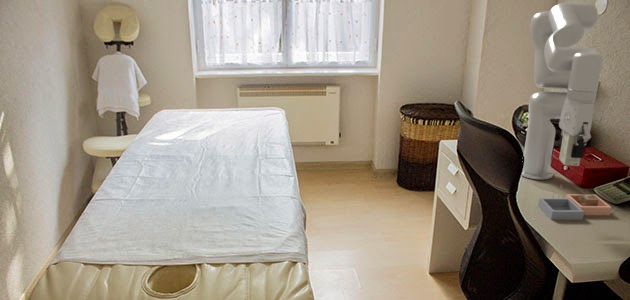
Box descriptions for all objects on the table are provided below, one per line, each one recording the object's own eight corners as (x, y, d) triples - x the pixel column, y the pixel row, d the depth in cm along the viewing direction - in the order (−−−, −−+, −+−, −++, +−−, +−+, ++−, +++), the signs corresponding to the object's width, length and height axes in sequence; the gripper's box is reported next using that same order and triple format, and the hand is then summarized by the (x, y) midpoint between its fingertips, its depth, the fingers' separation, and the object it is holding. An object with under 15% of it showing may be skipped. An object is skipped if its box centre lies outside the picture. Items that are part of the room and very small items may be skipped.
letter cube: (577, 205, 161) (579, 193, 160) (589, 205, 161) (592, 194, 160) (583, 211, 158) (585, 199, 156) (596, 211, 158) (598, 199, 156)
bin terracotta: (564, 203, 164) (566, 194, 163) (593, 204, 164) (595, 194, 163) (578, 217, 155) (580, 207, 154) (609, 217, 155) (611, 207, 154)
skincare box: (579, 166, 148) (587, 127, 144) (563, 165, 149) (571, 126, 145) (573, 159, 154) (580, 121, 150) (558, 158, 155) (565, 120, 150)
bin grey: (537, 207, 162) (539, 198, 160) (567, 207, 162) (569, 198, 160) (550, 221, 153) (552, 211, 151) (582, 221, 153) (584, 211, 151)
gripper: (554, 88, 152) (545, 143, 158) (583, 102, 136) (571, 163, 142) (579, 88, 152) (569, 143, 158) (610, 102, 136) (598, 163, 142)
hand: (570, 152), depth 150 cm, fingers closed on skincare box, 6 cm apart
